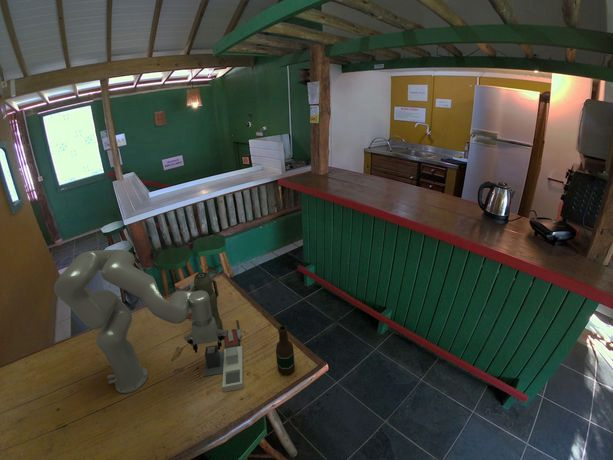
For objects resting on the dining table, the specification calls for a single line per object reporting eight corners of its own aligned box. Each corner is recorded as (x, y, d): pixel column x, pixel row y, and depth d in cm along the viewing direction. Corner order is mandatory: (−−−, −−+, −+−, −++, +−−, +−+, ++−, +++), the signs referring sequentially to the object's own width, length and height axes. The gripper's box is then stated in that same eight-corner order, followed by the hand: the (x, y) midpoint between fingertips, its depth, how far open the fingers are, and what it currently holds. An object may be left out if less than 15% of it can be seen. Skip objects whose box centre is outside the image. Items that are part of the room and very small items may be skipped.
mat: (204, 377, 135) (204, 376, 135) (206, 355, 146) (206, 354, 145) (223, 373, 136) (223, 372, 136) (224, 352, 147) (224, 351, 147)
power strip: (223, 391, 129) (220, 378, 125) (225, 353, 146) (222, 341, 142) (243, 388, 130) (240, 375, 126) (242, 350, 147) (240, 338, 144)
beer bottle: (275, 365, 139) (270, 324, 128) (291, 359, 142) (288, 318, 131) (281, 379, 133) (276, 337, 122) (298, 372, 135) (295, 331, 124)
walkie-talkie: (244, 350, 148) (239, 321, 165) (243, 343, 146) (238, 315, 163) (225, 355, 146) (222, 325, 163) (224, 348, 144) (221, 319, 161)
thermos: (229, 329, 160) (218, 272, 144) (209, 343, 152) (195, 285, 136) (218, 321, 165) (206, 266, 149) (199, 335, 157) (184, 277, 141)
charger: (208, 368, 138) (204, 355, 134) (209, 359, 143) (205, 346, 139) (219, 366, 139) (216, 353, 135) (220, 357, 143) (217, 344, 139)
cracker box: (188, 320, 167) (179, 288, 157) (182, 315, 170) (173, 283, 161) (210, 306, 176) (203, 275, 167) (204, 301, 180) (197, 271, 170)
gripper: (179, 327, 124) (185, 358, 131) (224, 322, 127) (228, 352, 134) (182, 314, 130) (188, 344, 138) (224, 310, 133) (228, 339, 141)
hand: (208, 348), depth 136 cm, fingers open, 9 cm apart
